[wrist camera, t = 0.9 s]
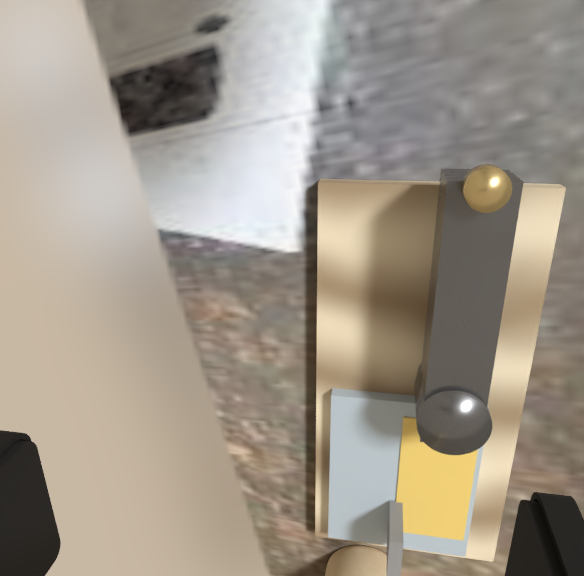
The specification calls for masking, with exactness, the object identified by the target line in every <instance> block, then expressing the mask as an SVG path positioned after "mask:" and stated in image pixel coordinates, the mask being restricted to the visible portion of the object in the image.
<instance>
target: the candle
mask: <svg viewBox="0 0 584 576" xmlns="http://www.w3.org/2000/svg"><path fill="white" fill-rule="evenodd" d="M325 576H387V554H385V553H384V552H382V551H380V550H378V549H375V548H372V547H369V546H362V545H353V546H347V547H344V548H341V549H339V550H337V551H336V552H335V553H333V554H332V556H331V557H330V559H329V561H328V564H327V567H326V573H325Z"/></svg>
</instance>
